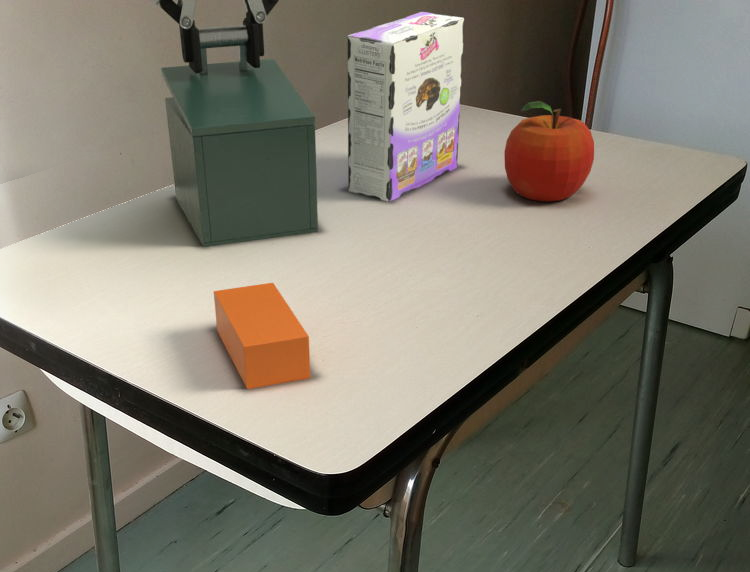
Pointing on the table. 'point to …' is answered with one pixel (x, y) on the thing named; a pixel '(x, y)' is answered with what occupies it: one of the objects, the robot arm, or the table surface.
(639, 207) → the table surface
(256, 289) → the block
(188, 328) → the table surface
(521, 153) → the fruit
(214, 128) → the bin lid
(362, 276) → the table surface
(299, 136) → the bin
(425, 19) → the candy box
